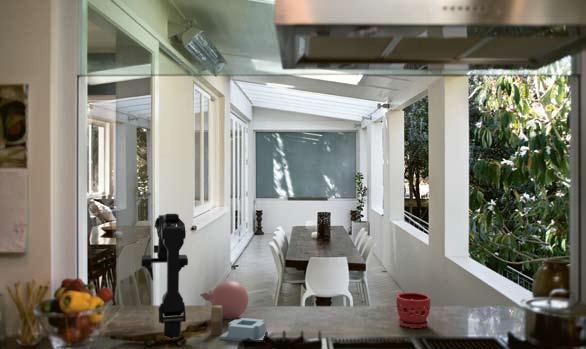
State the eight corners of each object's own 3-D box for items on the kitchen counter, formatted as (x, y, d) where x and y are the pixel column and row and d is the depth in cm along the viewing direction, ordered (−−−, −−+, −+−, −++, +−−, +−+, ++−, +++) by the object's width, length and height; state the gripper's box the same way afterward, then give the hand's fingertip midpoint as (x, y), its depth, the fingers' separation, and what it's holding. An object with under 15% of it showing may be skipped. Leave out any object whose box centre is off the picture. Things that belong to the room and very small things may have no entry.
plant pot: (389, 324, 204) (389, 294, 205) (414, 320, 210) (415, 291, 211) (411, 332, 193) (411, 300, 193) (437, 328, 199) (437, 297, 199)
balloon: (204, 313, 219) (205, 277, 220) (250, 314, 218) (251, 278, 218) (195, 322, 204) (196, 283, 204) (244, 323, 202) (245, 284, 203)
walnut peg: (219, 335, 185) (219, 308, 186) (209, 334, 186) (209, 307, 187) (223, 332, 189) (224, 305, 189) (214, 331, 190) (214, 304, 190)
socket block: (261, 343, 176) (261, 328, 176) (219, 339, 181) (219, 325, 181) (272, 334, 188) (273, 320, 188) (233, 330, 192) (233, 317, 192)
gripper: (186, 237, 220) (184, 271, 223) (141, 238, 215) (140, 273, 217) (189, 246, 210) (187, 281, 213) (142, 247, 204) (140, 283, 207)
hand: (163, 279), depth 213 cm, fingers open, 9 cm apart
